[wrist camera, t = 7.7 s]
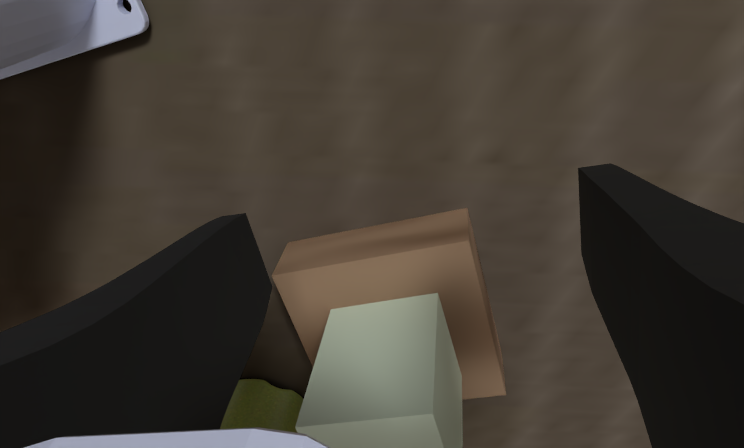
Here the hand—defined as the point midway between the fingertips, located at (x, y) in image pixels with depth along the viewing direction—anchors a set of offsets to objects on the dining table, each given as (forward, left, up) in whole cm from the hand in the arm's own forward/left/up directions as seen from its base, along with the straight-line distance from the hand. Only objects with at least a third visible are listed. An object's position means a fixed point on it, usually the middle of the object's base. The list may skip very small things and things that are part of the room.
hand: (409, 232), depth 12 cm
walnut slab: (+9, -4, -10) cm, 14 cm away
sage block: (+9, -4, -7) cm, 12 cm away
